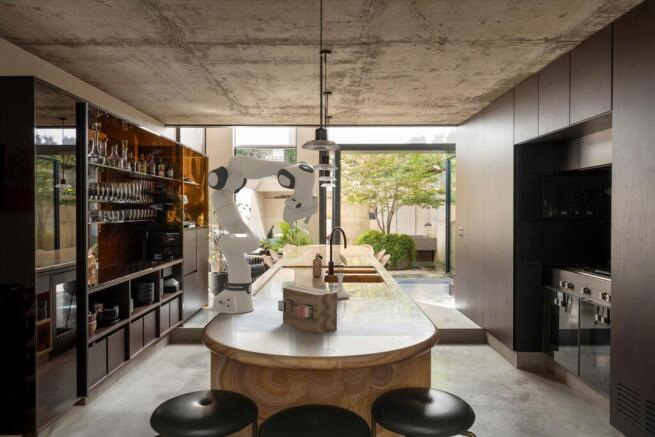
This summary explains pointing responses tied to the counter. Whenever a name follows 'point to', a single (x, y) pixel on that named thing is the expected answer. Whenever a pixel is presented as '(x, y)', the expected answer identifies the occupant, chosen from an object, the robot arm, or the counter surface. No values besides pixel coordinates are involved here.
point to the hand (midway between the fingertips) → (299, 225)
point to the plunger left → (285, 305)
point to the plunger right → (305, 311)
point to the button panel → (322, 309)
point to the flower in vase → (340, 290)
